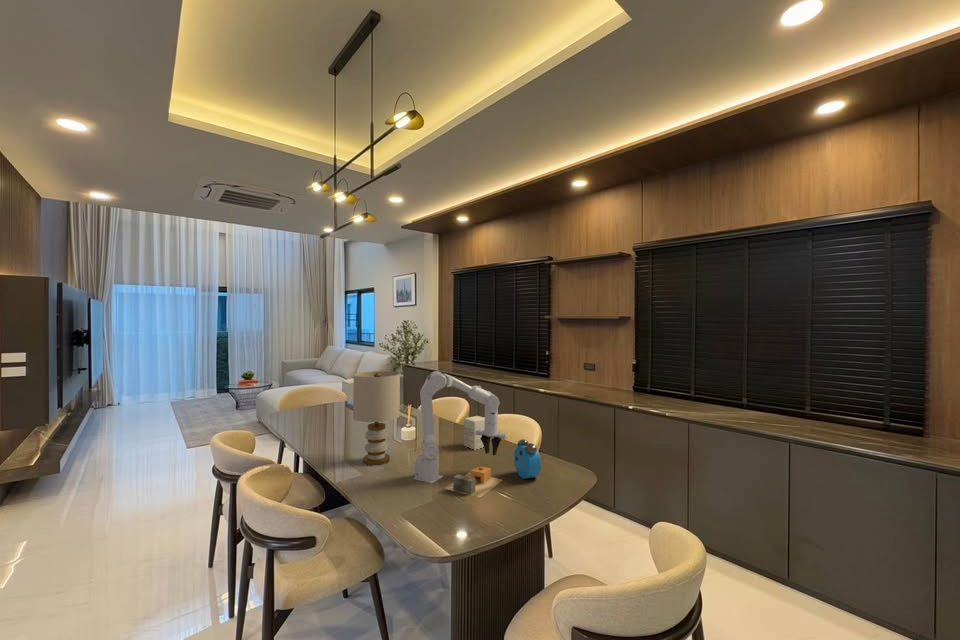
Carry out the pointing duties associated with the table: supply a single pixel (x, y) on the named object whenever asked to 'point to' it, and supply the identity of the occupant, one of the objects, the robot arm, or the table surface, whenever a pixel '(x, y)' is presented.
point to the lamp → (376, 409)
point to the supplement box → (473, 432)
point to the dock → (479, 486)
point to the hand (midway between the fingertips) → (490, 453)
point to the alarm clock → (527, 460)
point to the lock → (481, 473)
